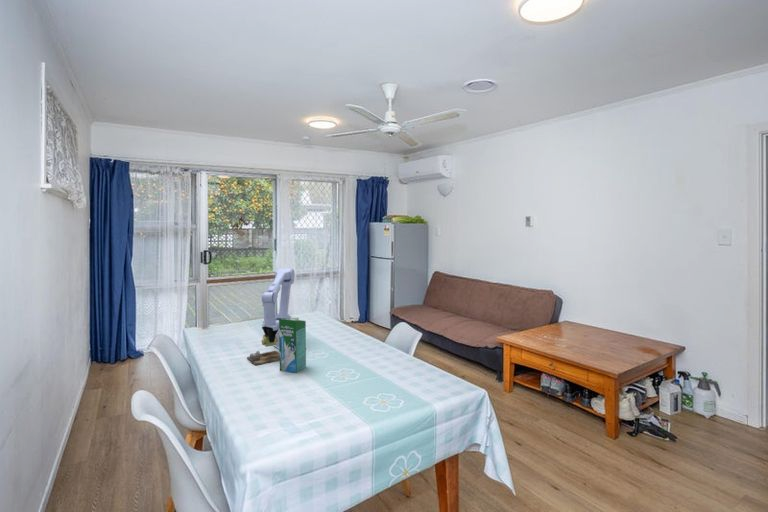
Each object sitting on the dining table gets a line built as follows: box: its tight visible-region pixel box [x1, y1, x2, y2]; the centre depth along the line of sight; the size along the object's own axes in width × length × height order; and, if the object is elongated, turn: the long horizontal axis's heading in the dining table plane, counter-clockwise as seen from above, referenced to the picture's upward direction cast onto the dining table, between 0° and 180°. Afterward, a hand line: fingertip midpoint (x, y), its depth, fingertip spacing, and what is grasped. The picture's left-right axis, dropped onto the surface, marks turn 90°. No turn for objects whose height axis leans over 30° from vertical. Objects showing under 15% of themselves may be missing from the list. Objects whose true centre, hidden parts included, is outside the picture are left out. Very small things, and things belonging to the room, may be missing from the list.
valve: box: [261, 333, 278, 347], centre depth 203 cm, size 8×4×6 cm, turn 127°
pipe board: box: [246, 350, 280, 367], centre depth 203 cm, size 16×12×5 cm
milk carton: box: [278, 316, 307, 374], centre depth 189 cm, size 9×9×25 cm
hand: (270, 341), depth 203 cm, fingers closed on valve, 4 cm apart
